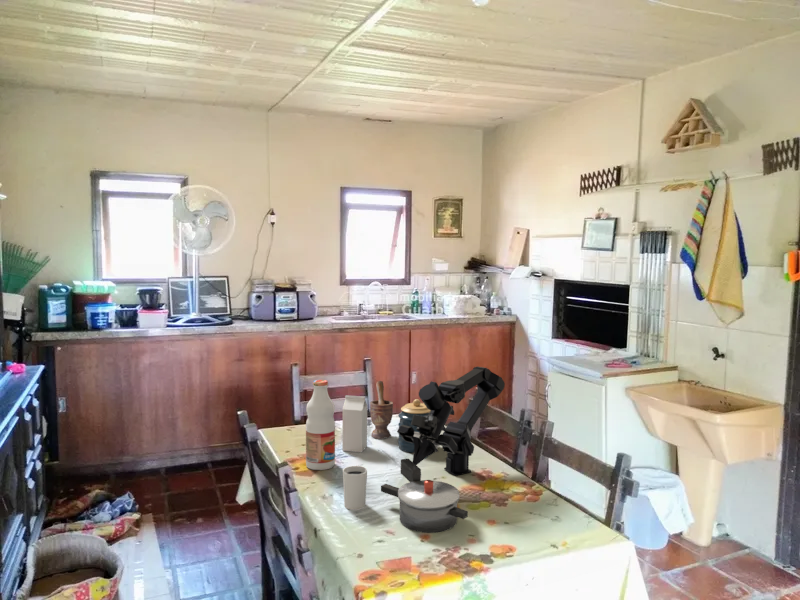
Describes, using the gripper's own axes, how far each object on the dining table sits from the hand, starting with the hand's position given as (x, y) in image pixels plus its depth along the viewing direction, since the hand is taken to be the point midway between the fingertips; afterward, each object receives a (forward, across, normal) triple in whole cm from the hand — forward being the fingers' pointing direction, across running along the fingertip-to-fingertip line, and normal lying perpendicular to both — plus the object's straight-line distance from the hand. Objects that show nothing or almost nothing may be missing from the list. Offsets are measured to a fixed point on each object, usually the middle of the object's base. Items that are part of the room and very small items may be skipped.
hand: (414, 464), depth 172 cm
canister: (-17, -24, +30) cm, 42 cm away
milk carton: (-6, -40, +19) cm, 45 cm away
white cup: (+18, -8, -6) cm, 21 cm away
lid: (+8, +9, -4) cm, 13 cm away
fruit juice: (+8, -37, +5) cm, 38 cm away
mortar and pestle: (-19, -44, +31) cm, 57 cm away
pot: (+14, +11, -1) cm, 18 cm away
